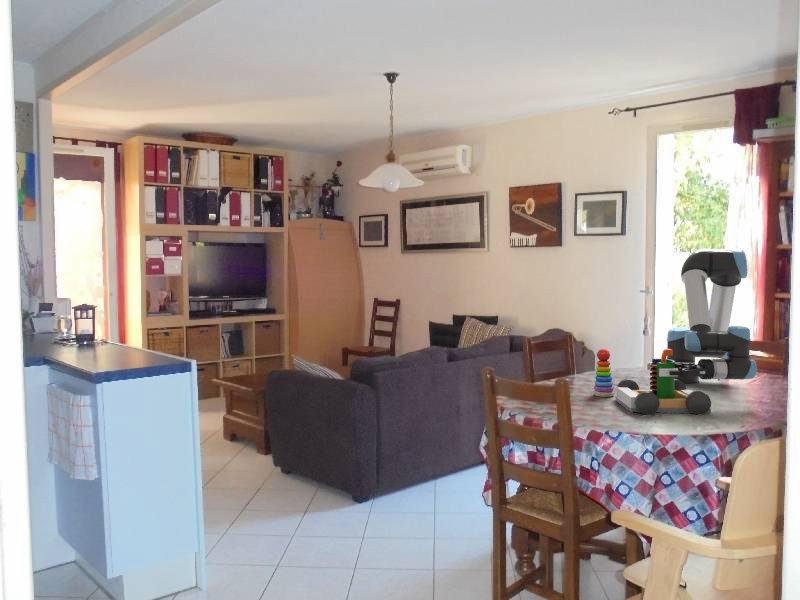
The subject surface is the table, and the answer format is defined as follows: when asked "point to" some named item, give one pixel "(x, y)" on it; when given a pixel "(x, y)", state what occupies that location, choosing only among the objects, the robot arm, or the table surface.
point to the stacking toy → (603, 375)
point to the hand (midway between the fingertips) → (653, 369)
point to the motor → (662, 384)
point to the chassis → (650, 403)
